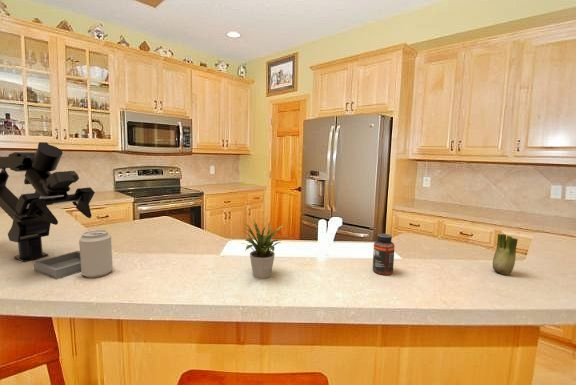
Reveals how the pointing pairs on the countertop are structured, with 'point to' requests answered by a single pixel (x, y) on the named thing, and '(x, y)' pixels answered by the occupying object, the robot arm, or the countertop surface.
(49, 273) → the tray
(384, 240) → the supplement bottle
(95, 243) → the can
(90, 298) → the countertop surface
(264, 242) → the house plant
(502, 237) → the fennel bulb
